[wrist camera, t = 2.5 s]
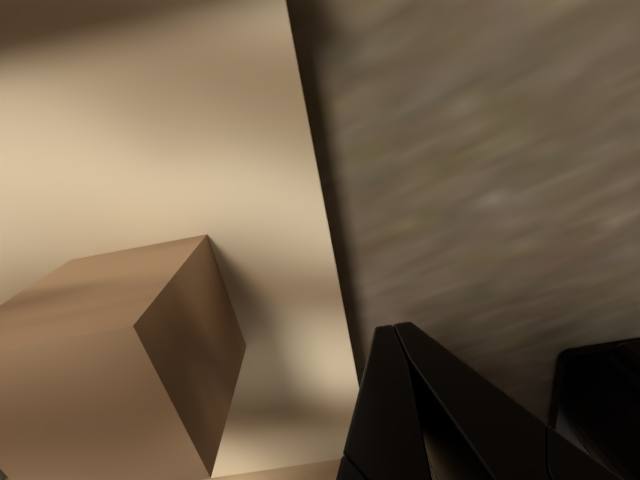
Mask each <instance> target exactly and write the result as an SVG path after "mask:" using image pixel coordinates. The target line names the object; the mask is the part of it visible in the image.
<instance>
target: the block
mask: <svg viewBox="0 0 640 480" xmlns="http://www.w3.org/2000/svg"><path fill="white" fill-rule="evenodd" d="M245 350H246V344H245V341H244V338H243V335H242V332H241V329H240V327H239V324H238V321H237V318H236V315H235V312H234V309H233V307H232V304H231V301H230V298H229V295H228V292H227V290H226V287H225V284H224V281H223V278H222V275H221V273H220V270H219V267H218V264H217V261H216V258H215V255H214V253H213V250H212V247H211V244H210V241H209V238H208V236H207V234H206V235H201V236H195V237H190V238H185V239H179V240H174V241H168V242H163V243H158V244H152V245H147V246H142V247H136V248H131V249H126V250H120V251H115V252H110V253H104V254H99V255H93V256H88V257H83V258H77V259H72V260H70V261H68V262H67V263H65V264H63V265H62V266H60V267H59V268H57V269H56V270H54V271H53V272H51V273H49V274H48V275H46V276H45V277H43V278H42V279H40V280H39V281H37V282H35V283H34V284H32V285H31V286H29V287H28V288H26V289H25V290H23V291H21V292H20V293H18V294H17V295H15V296H14V297H12V298H11V299H9V300H7V301H6V302H4V303H3V304H1V305H0V469H1V470H2V471H3V472H4V474H5V475H6V476H7V477H8V478H9V479H10V480H203V479H210V478H211V476H212V472H213V468H214V465H215V461H216V457H217V454H218V450H219V446H220V443H221V439H222V435H223V431H224V428H225V424H226V420H227V417H228V413H229V409H230V406H231V402H232V398H233V395H234V391H235V387H236V383H237V380H238V376H239V372H240V369H241V365H242V361H243V358H244V354H245Z"/></svg>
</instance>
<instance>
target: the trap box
mask: <svg viewBox="0 0 640 480" xmlns="http://www.w3.org/2000/svg"><path fill="white" fill-rule="evenodd" d="M206 234H207V236H208V238H209V241H210V244H211V247H212V250H213V253H214V255H215V258H216V261H217V264H218V267H219V270H220V273H221V275H222V278H223V281H224V284H225V287H226V290H227V292H228V295H229V298H230V301H231V304H232V307H233V309H234V312H235V315H236V318H237V321H238V324H239V327H240V329H241V332H242V335H243V338H244V341H245V344H246V350H245V354H244V358H243V361H242V365H241V369H240V372H239V376H238V380H237V383H236V387H235V391H234V395H233V398H232V402H231V406H230V409H229V413H228V417H227V420H226V424H225V428H224V431H223V435H222V439H221V443H220V446H219V450H218V454H217V457H216V461H215V465H214V468H213V472H212V476H211V478H210V479H203V480H336V477H337V473H338V469H339V465H340V461H341V458H342V456H343V450H344V447H345V443H346V439H347V435H348V431H349V427H350V423H351V419H352V415H353V411H354V408H355V404H356V400H357V396H358V392H359V383H358V377H357V372H356V367H355V361H354V356H353V351H352V345H351V340H350V335H349V330H348V324H347V319H346V314H345V308H344V303H343V298H342V293H341V287H340V282H339V277H338V271H337V266H336V261H335V256H334V250H333V245H332V240H331V234H330V229H329V224H328V219H327V213H326V208H325V203H324V197H323V192H322V187H321V182H320V176H319V171H318V166H317V160H316V155H315V150H314V145H313V139H312V134H311V129H310V123H309V118H308V113H307V108H306V102H305V97H304V92H303V86H302V81H301V76H300V71H299V65H298V60H297V55H296V49H295V44H294V39H293V34H292V28H291V23H290V18H289V12H288V7H287V2H286V0H0V305H1V304H3V303H4V302H6V301H7V300H9V299H11V298H12V297H14V296H15V295H17V294H18V293H20V292H21V291H23V290H25V289H26V288H28V287H29V286H31V285H32V284H34V283H35V282H37V281H39V280H40V279H42V278H43V277H45V276H46V275H48V274H49V273H51V272H53V271H54V270H56V269H57V268H59V267H60V266H62V265H63V264H65V263H67V262H68V261H70V260H72V259H77V258H83V257H88V256H93V255H99V254H104V253H110V252H115V251H120V250H126V249H131V248H136V247H142V246H147V245H152V244H158V243H163V242H168V241H174V240H179V239H185V238H190V237H195V236H201V235H206ZM0 480H10V479H9V478H8V477H7V476H6V475H5V474H4V472H3V471H2V470H1V469H0Z"/></svg>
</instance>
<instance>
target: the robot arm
mask: <svg viewBox="0 0 640 480" xmlns="http://www.w3.org/2000/svg"><path fill="white" fill-rule="evenodd" d="M586 452H588V453H589V454H590V455H588V454H587V453H586ZM427 456H428V458H429V461H430V463H431V466H432V468H433V471H434V473H435V476H436V478H437V480H640V338H635V339H628V340H622V341H616V342H610V343H603V344H597V345H591V346H584V347H578V348H572V349H568V350H566V351H564V352H562V353H561V354H560V356H559V358H558V363H557V370H556V378H555V385H554V393H553V401H552V408H551V416H550V423H549V426H548V427H546V424H545V422H543V421H542V420H541V419H539V418H538V417H537V416H535V415H534V414H533V413H531V412H530V411H529V410H527V409H526V408H525V407H524V406H522V405H521V404H520V403H518V402H517V401H516V400H514V399H513V398H512V397H510V396H509V395H508V394H506V393H505V392H504V391H502V390H501V389H500V388H498V387H497V386H496V385H494V384H493V383H492V382H490V381H489V380H488V379H486V378H485V377H484V376H482V375H481V374H480V373H478V372H477V371H476V370H474V369H473V368H472V367H470V366H469V365H468V364H466V363H465V362H464V361H462V360H461V359H460V358H458V357H457V356H456V355H454V354H453V353H452V352H450V351H449V350H448V349H446V348H445V347H444V346H442V345H441V344H440V343H438V342H437V341H436V340H434V339H433V338H432V337H430V336H429V335H428V334H426V333H425V332H424V331H422V330H421V329H420V328H418V327H417V326H416V325H414V324H413V323H412V322H403V323H397V324H394V326H392V325H385V326H379V327H376V328H375V330H374V333H373V337H372V341H371V345H370V349H369V353H368V357H367V361H366V365H365V369H364V372H363V376H362V380H361V384H360V388H359V392H358V396H357V400H356V404H355V408H354V411H353V415H352V419H351V423H350V427H349V431H348V435H347V439H346V443H345V447H344V450H343V456H342V458H341V461H340V465H339V469H338V473H337V477H336V480H432V478H431V473H430V468H429V463H428V458H427Z"/></svg>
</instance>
